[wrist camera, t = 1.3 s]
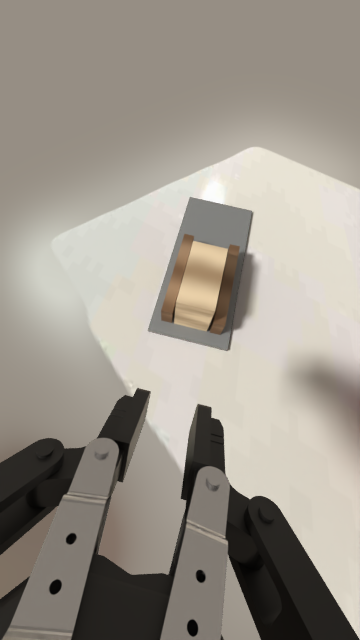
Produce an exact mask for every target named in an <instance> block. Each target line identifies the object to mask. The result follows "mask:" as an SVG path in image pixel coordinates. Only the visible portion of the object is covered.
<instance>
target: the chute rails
mask: <svg viewBox="0 0 360 640" xmlns="http://www.w3.org/2000/svg"><path fill="white" fill-rule="evenodd" d="M193 241H194V236H193V235H188V234H184V237H183V240H182V243H181V247H180V250H179V253H178V257H177V260H176V263H175V266H174V270H173V273H172V276H171V280H170V283H169V286H168V289H167V293H166V296H165V299H164V303H163V306H162V309H161V320H162V321H166V322H170V323H172V320H173V316H174V313H175V307H176V300H177V297H178V293H179V290H180V286H181V283H182V279H183V275H184V272H185V268H186V265H187V261H188V258H189V254H190V251H191V247H192V244H193ZM239 249H240V246H236V245H231V244H230V246H229V248H228V252H227V257H226V262H225V266H224V271H223V276H222V281H221V285H220V290H219V295H218V300H217V305H216V309H215V313H214V315H213V318H212V323H211V327H210V333H214V334H218V335H220V334H221V332H222V330H223V329H224V327H225V324H226V318H227V313H228V308H229V302H230V297H231V291H232V286H233V281H234V275H235V270H236V265H237V259H238V254H239Z"/></svg>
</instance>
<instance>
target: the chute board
mask: <svg viewBox="0 0 360 640" xmlns="http://www.w3.org/2000/svg"><path fill="white" fill-rule="evenodd" d="M251 214H252V211H250V210H245V209H241V208H237V207H232V206H228V205H223V204H219V203H214V202H210V201H205V200H201V199H197V198H192V197H190V199H189V202H188V205H187V208H186V211H185V214H184V218H183V221H182V224H181V227H180V230H179V233H178V236H177V240H176V243H175V246H174V249H173V252H172V255H171V259H170V262H169V265H168V268H167V271H166V274H165V278H164V281H163V284H162V287H161V290H160V293H159V297H158V300H157V303H156V306H155V309H154V312H153V315H152V319H151V322H150V325H149V328H148V331H149V332H153V333H157V334H161V335H165V336H169V337H173V338H177V339H181V340H185V341H189V342H193V343H197V344H201V345H205V346H209V347H213V348H217V349H221V350H225V351H227V350H228V345H229V339H230V334H231V328H232V322H233V317H234V311H235V305H236V299H237V294H238V288H239V282H240V277H241V271H242V265H243V260H244V254H245V248H246V243H247V237H248V231H249V226H250V220H251ZM184 234H188V235H193V236H194V241H196V242H200V243H205V244H209V245H213V246H218V247H222V248H226V249H228V248H229V246H230V244H231V245H236V246H240V249H239V254H238V259H237V265H236V270H235V275H234V281H233V286H232V291H231V297H230V302H229V308H228V313H227V318H226V324H225V327H224V329H223V330H222V332H221V334H220V335H218V334H214V333H210V327H211V323H212V320H211V322H210V325H209V327H208V329H207V332H206V331H202V330H198V329H194V328H190V327H186V326H182V325H178V324H174V318H175V313H174V316H173V320H172V323H170V322H166V321H162V320H161V309H162V306H163V303H164V299H165V296H166V293H167V289H168V286H169V283H170V280H171V276H172V273H173V270H174V266H175V263H176V260H177V257H178V253H179V250H180V247H181V243H182V240H183V237H184Z"/></svg>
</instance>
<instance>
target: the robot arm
mask: <svg viewBox="0 0 360 640" xmlns="http://www.w3.org/2000/svg"><path fill="white" fill-rule="evenodd" d="M150 393H151V391H147V390H143V389H139V388H137V390H136V392H135V394H134V396H133V397H130V396H126V395H125V396H123V397H122V398H121V399H119V400H118V401H117V403H116V405H115V406H114V409H113V410H112V412H111V414H110V416H109V417H108V419H107V421H106V423H105V425H104V426H103V428H102V430H101V432H100V434H99V436H98V437H97V439H95V440H93V441H91V442H90V443H89V444H88V445H87V446H85V447H82V448H69V449H64V446H63V444H62V443H61V442H60V441H59V440H57V439H52V438H46V439H42V440H39V441H37V442H35V443H33V444H31V445H30V446H28V447H26V448H25V449H23V450H22V451H20V452H18V453H16V454H15V455H13V456H12V457H10V458H8V459H6V460H5V461H3V462H1V463H0V555H1V554H2V553H3V552H4V551H6V550H7V549H8V548H9V547H10V546H11V545H13V544H14V543H15V542H16V541H17V540H18V539H20V538H21V537H22V536H23V535H24V534H25V533H26V532H28V531H29V530H30V529H31V528H32V527H33V526H35V525H36V524H37V523H38V522H39V521H41V520H42V519H43V518H44V517H45V516H46V515H47V514H49V513H50V512H51V511H52V510H53V509H54V508H55V507H56V506H59V507H58V509H57V511H56V514H55V516H54V519H53V521H52V524H51V526H50V529H49V531H48V534H47V536H46V538H45V541H44V543H43V546H42V548H41V551H40V553H39V556H38V558H37V561H36V563H35V566H34V568H33V570H32V573H31V575H30V576H29V577H28V578H27V579H26V580H24V581H23V582H22V583H20V584H19V585H18V586H16V587H15V588H14V589H13V590H11V591H10V592H9V593H8V594H6V595H5V596H4V597H2V598H1V599H0V640H224V639H223V637H222V635H221V626H222V615H223V603H224V591H225V578H226V567H227V555H229V558H230V561H231V564H232V567H233V569H234V572H235V574H236V577H237V579H238V582H239V584H240V587H241V590H242V592H243V594H244V597H245V600H246V602H247V605H248V607H249V610H250V612H251V615H252V618H253V620H254V623H255V625H256V628H257V630H258V633H259V635H260V638H261V640H360V639H359V638H358V636H357V635H356V633H355V631H354V630H353V628H352V626H351V625H350V623H349V621H348V620H347V618H346V617H345V615H344V613H343V612H342V610H341V608H340V607H339V605H338V604H337V602H336V600H335V599H334V597H333V595H332V594H331V592H330V590H329V589H328V587H327V586H326V584H325V582H324V581H323V579H322V577H321V576H320V574H319V572H318V571H317V569H316V568H315V566H314V564H313V563H312V561H311V559H310V558H309V556H308V555H307V553H306V551H305V550H304V548H303V546H302V545H301V543H300V541H299V540H298V538H297V537H296V535H295V533H294V532H293V530H292V528H291V527H290V525H289V523H288V522H287V520H286V519H285V517H284V515H283V514H282V512H281V510H280V509H279V508H278V506H277V505H276V504H275V503H274V502H272V501H271V500H270V499H268V498H266V497H263V496H255V497H253V498H252V499H251V500H250V499H248V498H247V497H245V496H243V495H242V494H240V493H239V492H237V491H236V490H235V489H234V488H233V487H232V486H231V485H230V483H229V480H228V478H227V477H226V474H225V456H224V430H223V426H222V424H221V422H220V420H218V419H214V418H211V407H208V406H204V405H200V404H198V405H197V407H196V411H195V414H194V418H193V421H192V424H191V428H190V432H189V438H188V446H187V454H186V462H185V470H184V478H183V486H182V494H181V499H184V500H186V509H185V513H184V516H183V519H182V523H181V527H180V531H179V535H178V539H177V543H176V547H175V551H174V555H173V559H172V563H171V567H170V571H169V574H168V575H166V574H162V573H160V574H143V575H142V574H141V575H131V574H129V573H127V572H126V571H124V570H123V569H122V568H120V567H118V566H117V565H116V564H114V563H113V562H111V561H110V560H109V559H107V558H106V557H104V556H101V555H98V552H99V547H100V543H101V538H102V534H103V530H104V526H105V521H106V517H107V513H108V509H109V504H110V500H111V495H112V493H113V491H114V488H115V485H116V483H117V481H119V482H123V480H124V477H125V475H126V472H127V469H128V466H129V463H130V460H131V458H132V455H133V452H134V449H135V446H136V444H137V441H138V438H139V435H140V433H141V430H142V427H143V424H144V421H145V417H146V413H147V408H148V403H149V398H150Z"/></svg>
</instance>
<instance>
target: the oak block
mask: <svg viewBox="0 0 360 640" xmlns="http://www.w3.org/2000/svg"><path fill="white" fill-rule="evenodd" d="M227 252H228V249H226V248H222V247H218V246H213V245H209V244H205V243H200V242H196V241H193V244H192V247H191V251H190V254H189V258H188V261H187V265H186V268H185V272H184V275H183V279H182V283H181V286H180V290H179V293H178V297H177V300H176V307H175V318H174V324H178V325H182V326H186V327H190V328H194V329H198V330H202V331H206V332H207V329H208V327H209V325H210V322H211V320H212V318H213V315H214V313H215V309H216V305H217V300H218V295H219V290H220V285H221V281H222V276H223V271H224V266H225V262H226V257H227Z"/></svg>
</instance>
